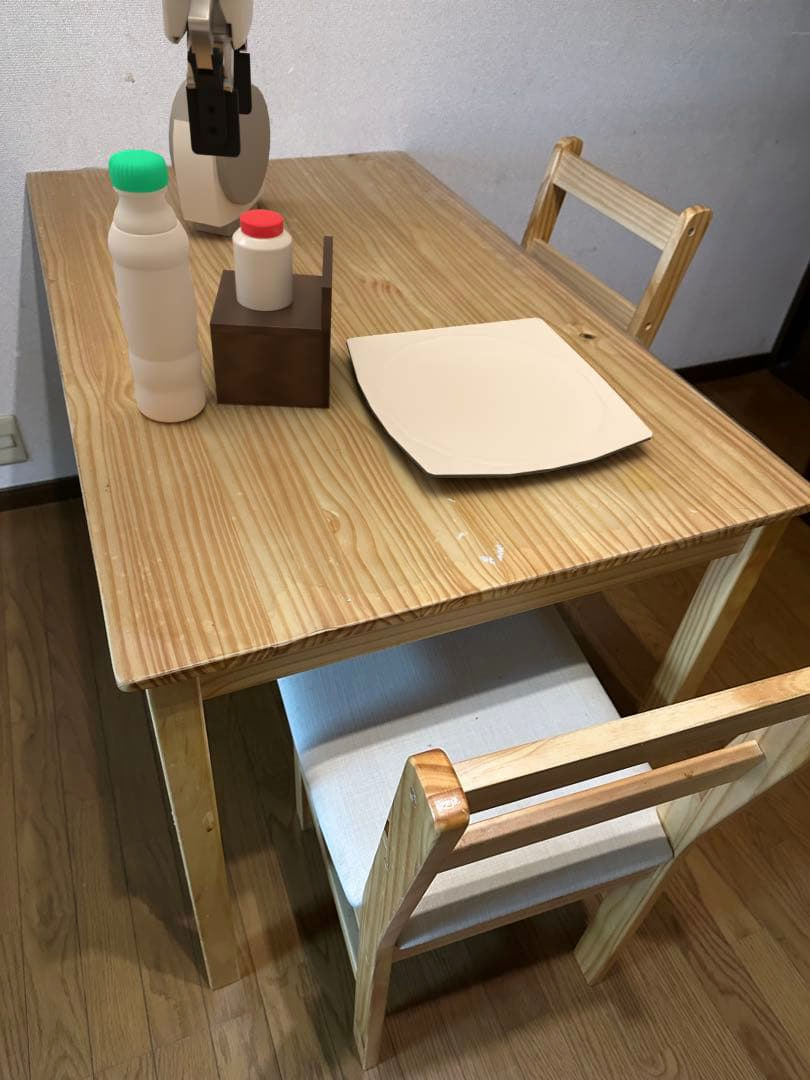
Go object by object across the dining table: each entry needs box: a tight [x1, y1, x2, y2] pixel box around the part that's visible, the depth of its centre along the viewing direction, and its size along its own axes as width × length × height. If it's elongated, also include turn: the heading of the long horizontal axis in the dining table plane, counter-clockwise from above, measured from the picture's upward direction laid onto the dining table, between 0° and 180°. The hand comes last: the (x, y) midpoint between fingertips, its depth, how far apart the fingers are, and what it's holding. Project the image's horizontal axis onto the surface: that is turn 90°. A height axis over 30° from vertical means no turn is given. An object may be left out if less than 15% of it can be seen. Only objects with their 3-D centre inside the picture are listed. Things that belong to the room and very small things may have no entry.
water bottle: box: [107, 148, 207, 423], centre depth 73 cm, size 7×7×25 cm
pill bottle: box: [231, 208, 294, 311], centre depth 78 cm, size 6×6×8 cm
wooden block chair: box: [209, 235, 334, 409], centre depth 82 cm, size 12×12×14 cm
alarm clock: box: [168, 78, 271, 237], centre depth 110 cm, size 18×8×20 cm, turn 164°
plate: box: [345, 317, 654, 479], centre depth 86 cm, size 29×29×3 cm
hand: (224, 132), depth 55 cm, fingers open, 9 cm apart
